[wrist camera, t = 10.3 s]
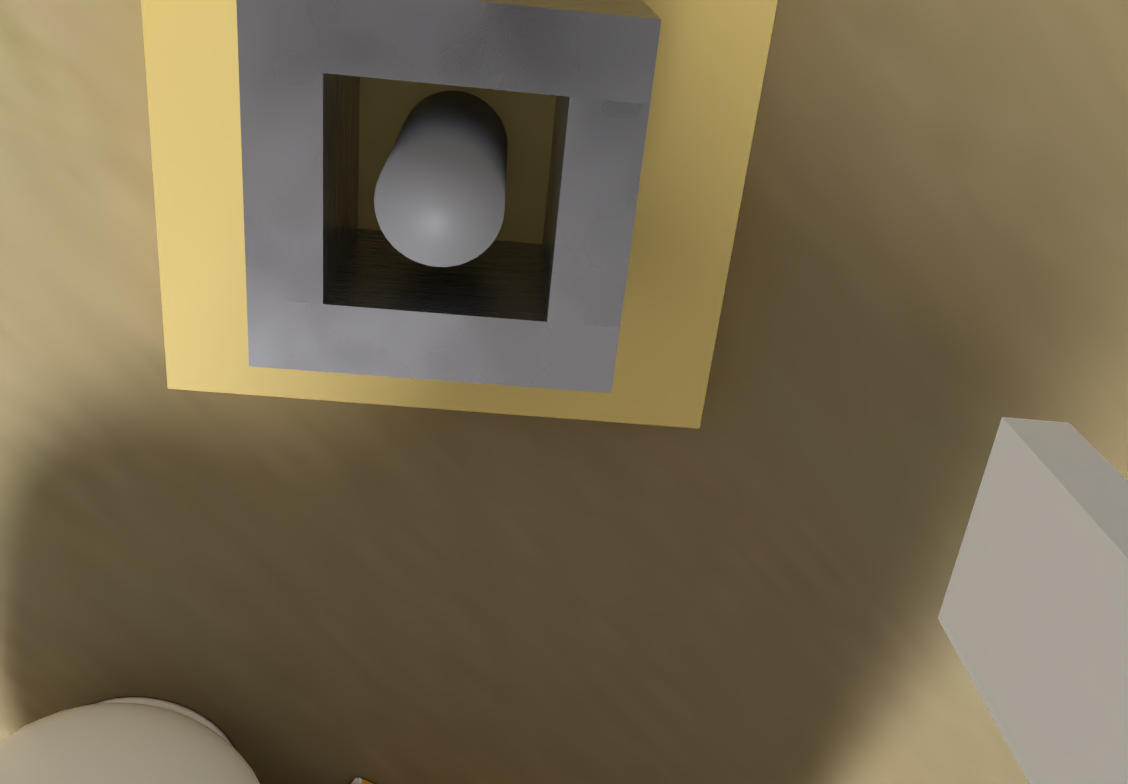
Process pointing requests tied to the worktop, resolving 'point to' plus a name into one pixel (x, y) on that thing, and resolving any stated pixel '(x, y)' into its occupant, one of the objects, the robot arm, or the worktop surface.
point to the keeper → (463, 207)
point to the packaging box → (360, 781)
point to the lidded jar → (122, 747)
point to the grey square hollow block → (365, 257)
